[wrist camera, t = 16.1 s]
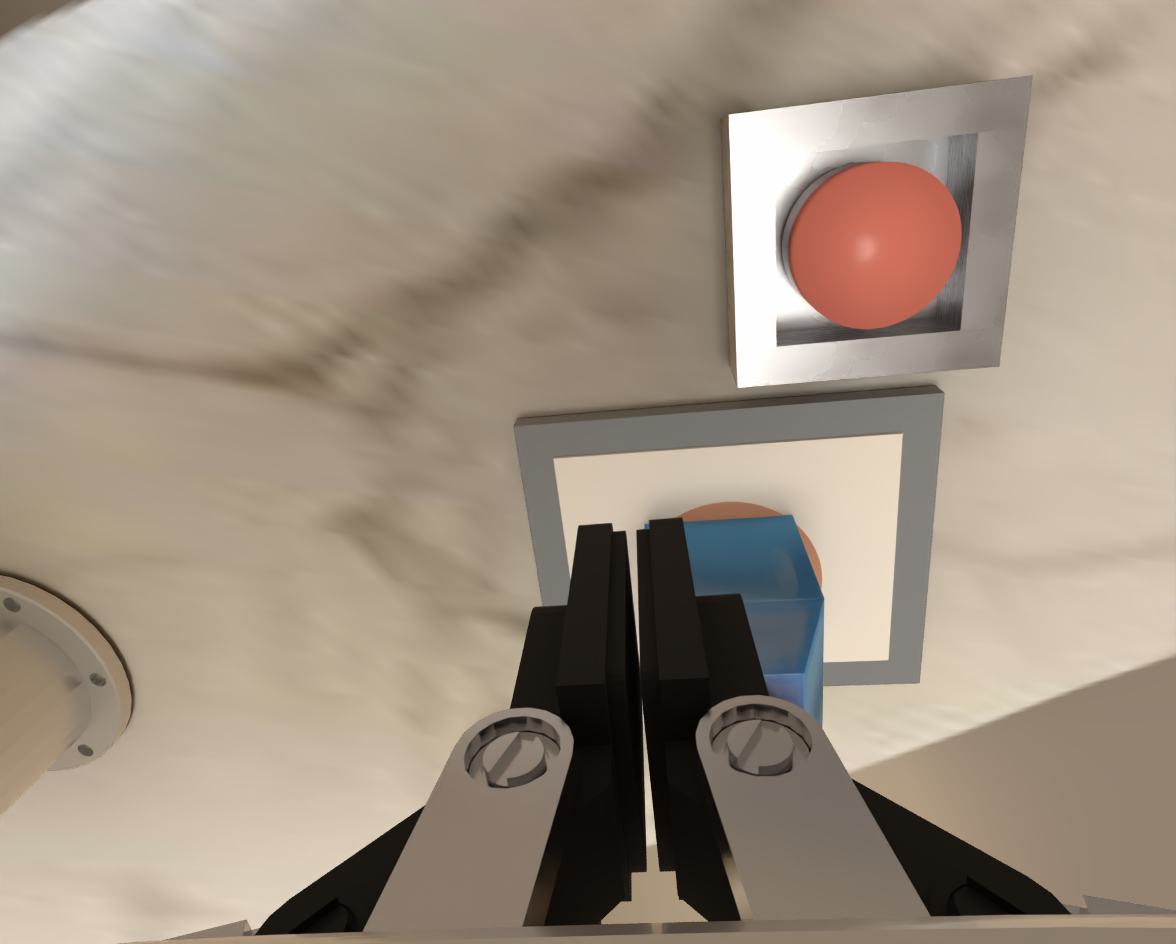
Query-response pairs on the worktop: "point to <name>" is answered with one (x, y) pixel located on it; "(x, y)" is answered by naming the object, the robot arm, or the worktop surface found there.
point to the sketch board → (762, 500)
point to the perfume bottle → (767, 597)
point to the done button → (872, 243)
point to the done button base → (872, 134)
